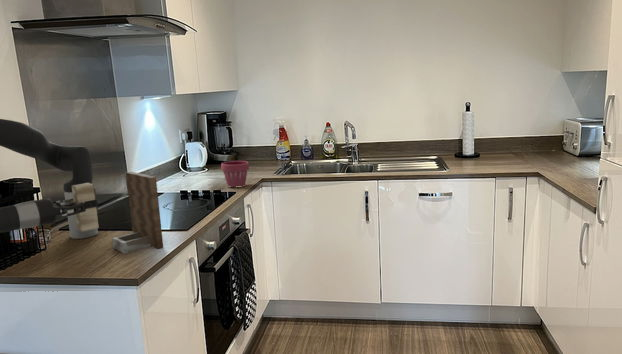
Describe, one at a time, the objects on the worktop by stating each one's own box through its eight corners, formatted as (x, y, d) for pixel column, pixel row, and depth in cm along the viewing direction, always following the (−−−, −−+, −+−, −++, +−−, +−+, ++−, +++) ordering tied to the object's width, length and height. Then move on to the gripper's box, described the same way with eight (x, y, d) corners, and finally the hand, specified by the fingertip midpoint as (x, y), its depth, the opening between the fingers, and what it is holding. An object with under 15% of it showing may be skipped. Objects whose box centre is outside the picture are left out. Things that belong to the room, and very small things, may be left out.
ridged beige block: (77, 229, 149) (71, 185, 147) (95, 225, 153) (90, 182, 151) (82, 231, 147) (76, 187, 144) (100, 227, 151) (95, 183, 148)
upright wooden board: (107, 245, 164) (98, 176, 159) (138, 237, 172) (131, 171, 167) (130, 256, 151) (122, 182, 147) (163, 247, 159) (155, 176, 154)
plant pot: (254, 184, 256) (253, 160, 254) (242, 189, 244) (240, 165, 241) (231, 183, 261) (229, 160, 259) (217, 188, 249) (215, 164, 246)
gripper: (39, 204, 133) (101, 193, 145) (24, 197, 143) (84, 187, 154) (43, 230, 134) (104, 217, 146) (28, 221, 144) (87, 209, 156)
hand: (93, 201), depth 150 cm, fingers closed on ridged beige block, 4 cm apart
